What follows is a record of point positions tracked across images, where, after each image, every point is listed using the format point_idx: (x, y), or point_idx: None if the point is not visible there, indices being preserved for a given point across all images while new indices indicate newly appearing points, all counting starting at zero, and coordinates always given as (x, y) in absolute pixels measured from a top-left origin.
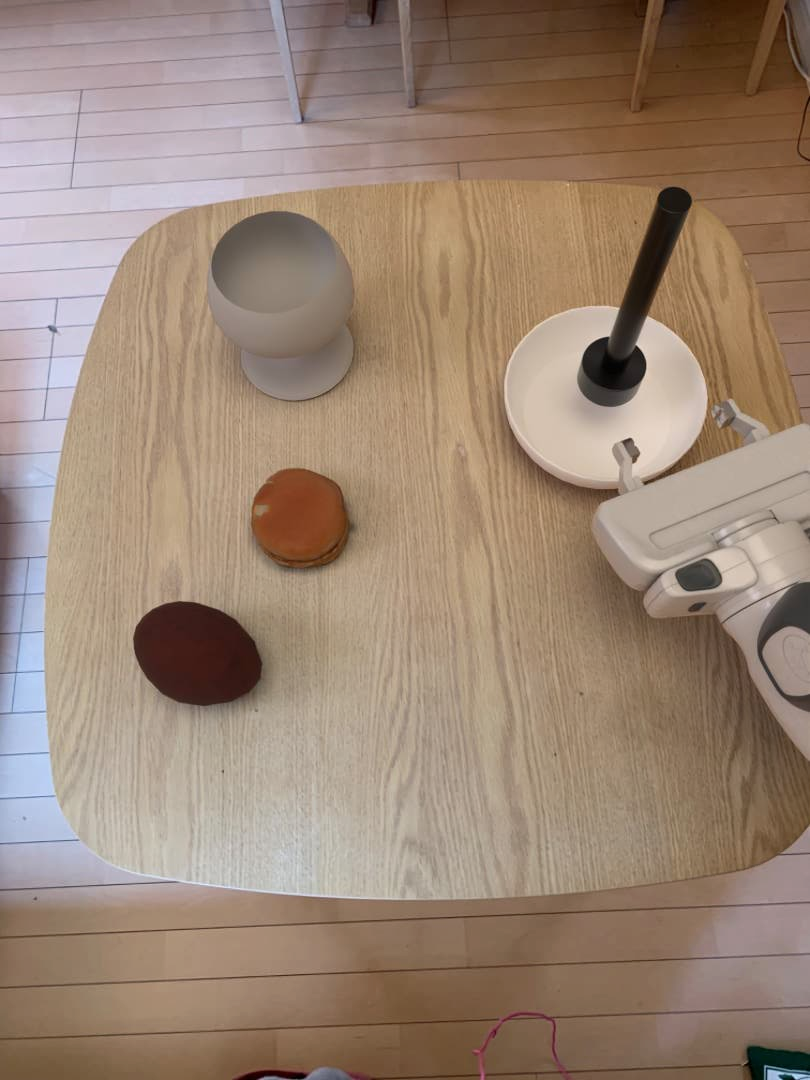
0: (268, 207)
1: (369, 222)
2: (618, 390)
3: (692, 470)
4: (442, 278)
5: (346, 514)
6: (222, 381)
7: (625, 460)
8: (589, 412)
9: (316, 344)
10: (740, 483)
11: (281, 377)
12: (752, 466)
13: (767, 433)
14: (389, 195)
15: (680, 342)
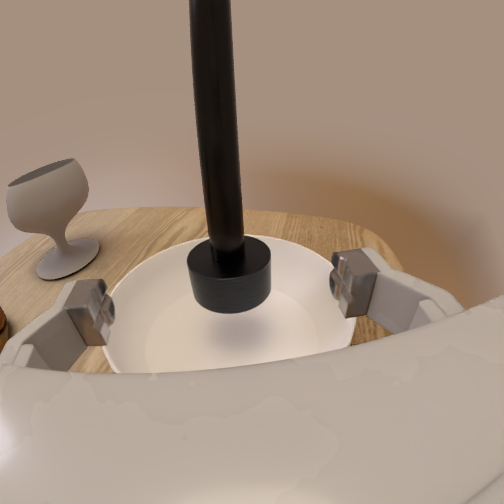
0: (117, 208)
1: (155, 215)
2: (216, 278)
3: (144, 382)
4: (172, 238)
5: (1, 346)
6: (31, 265)
7: (48, 309)
8: (227, 337)
9: (30, 217)
10: (358, 496)
11: (46, 265)
12: (430, 407)
13: (459, 310)
14: (174, 207)
15: (331, 267)
